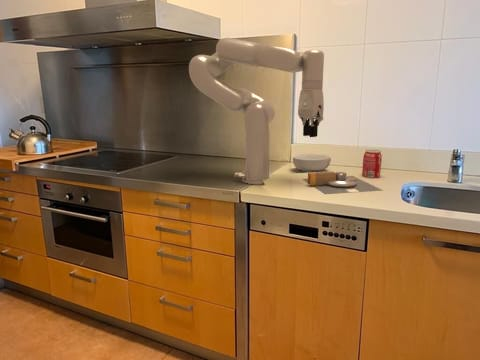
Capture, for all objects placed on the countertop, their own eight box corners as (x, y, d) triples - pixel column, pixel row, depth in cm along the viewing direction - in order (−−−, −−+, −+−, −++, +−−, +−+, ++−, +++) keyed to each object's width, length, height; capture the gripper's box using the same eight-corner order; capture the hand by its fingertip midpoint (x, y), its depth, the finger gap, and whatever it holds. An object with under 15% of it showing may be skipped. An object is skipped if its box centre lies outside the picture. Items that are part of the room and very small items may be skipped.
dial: (347, 178, 141) (348, 167, 140) (363, 185, 130) (363, 174, 129) (303, 180, 138) (303, 170, 137) (315, 188, 127) (315, 177, 126)
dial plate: (324, 198, 123) (324, 193, 122) (302, 182, 144) (302, 178, 143) (382, 194, 127) (383, 189, 126) (352, 179, 148) (352, 175, 147)
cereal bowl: (316, 166, 173) (317, 151, 171) (337, 173, 158) (338, 157, 156) (285, 169, 167) (286, 154, 166) (304, 177, 152) (305, 160, 151)
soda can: (375, 177, 151) (378, 149, 148) (382, 181, 144) (385, 152, 141) (359, 177, 150) (361, 149, 147) (365, 182, 143) (367, 152, 140)
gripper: (290, 86, 136) (289, 134, 141) (317, 86, 122) (315, 139, 127) (307, 86, 139) (305, 133, 144) (335, 86, 125) (332, 138, 130)
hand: (310, 135), depth 135 cm, fingers open, 3 cm apart
